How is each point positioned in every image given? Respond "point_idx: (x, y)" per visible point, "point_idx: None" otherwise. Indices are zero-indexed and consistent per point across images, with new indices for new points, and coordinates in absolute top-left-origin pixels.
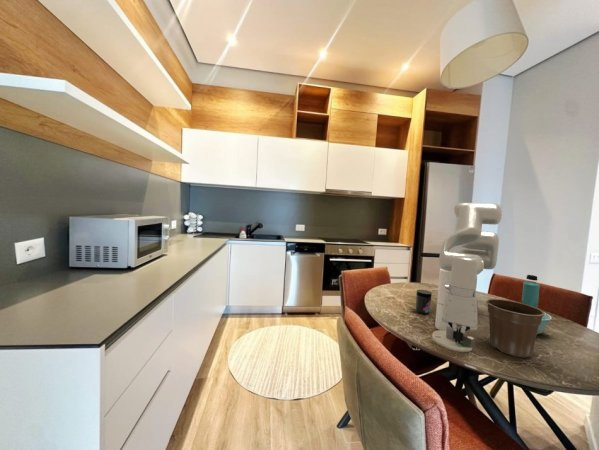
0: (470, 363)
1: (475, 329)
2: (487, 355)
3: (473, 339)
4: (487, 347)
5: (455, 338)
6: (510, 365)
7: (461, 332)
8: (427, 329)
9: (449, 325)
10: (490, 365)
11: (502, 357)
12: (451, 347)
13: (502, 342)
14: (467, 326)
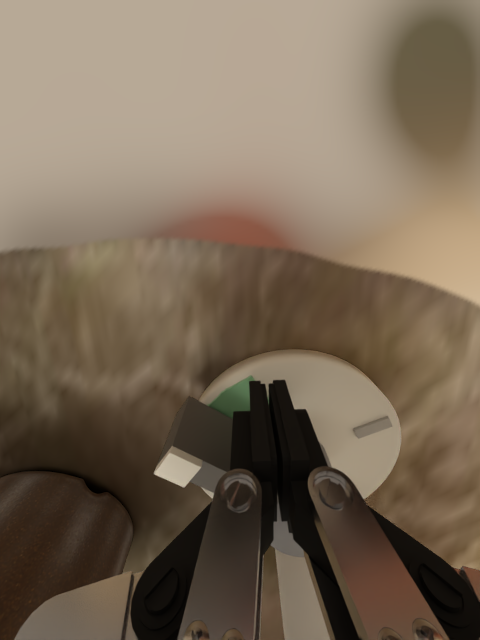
0: (183, 252)
1: (62, 599)
2: (122, 409)
3: (159, 462)
4: (135, 482)
5: (289, 399)
6: (20, 377)
7: (249, 472)
8: (400, 495)
9: (307, 570)
10: (91, 309)
11: (66, 432)
12: (293, 357)
13: (34, 534)
14: (166, 630)
